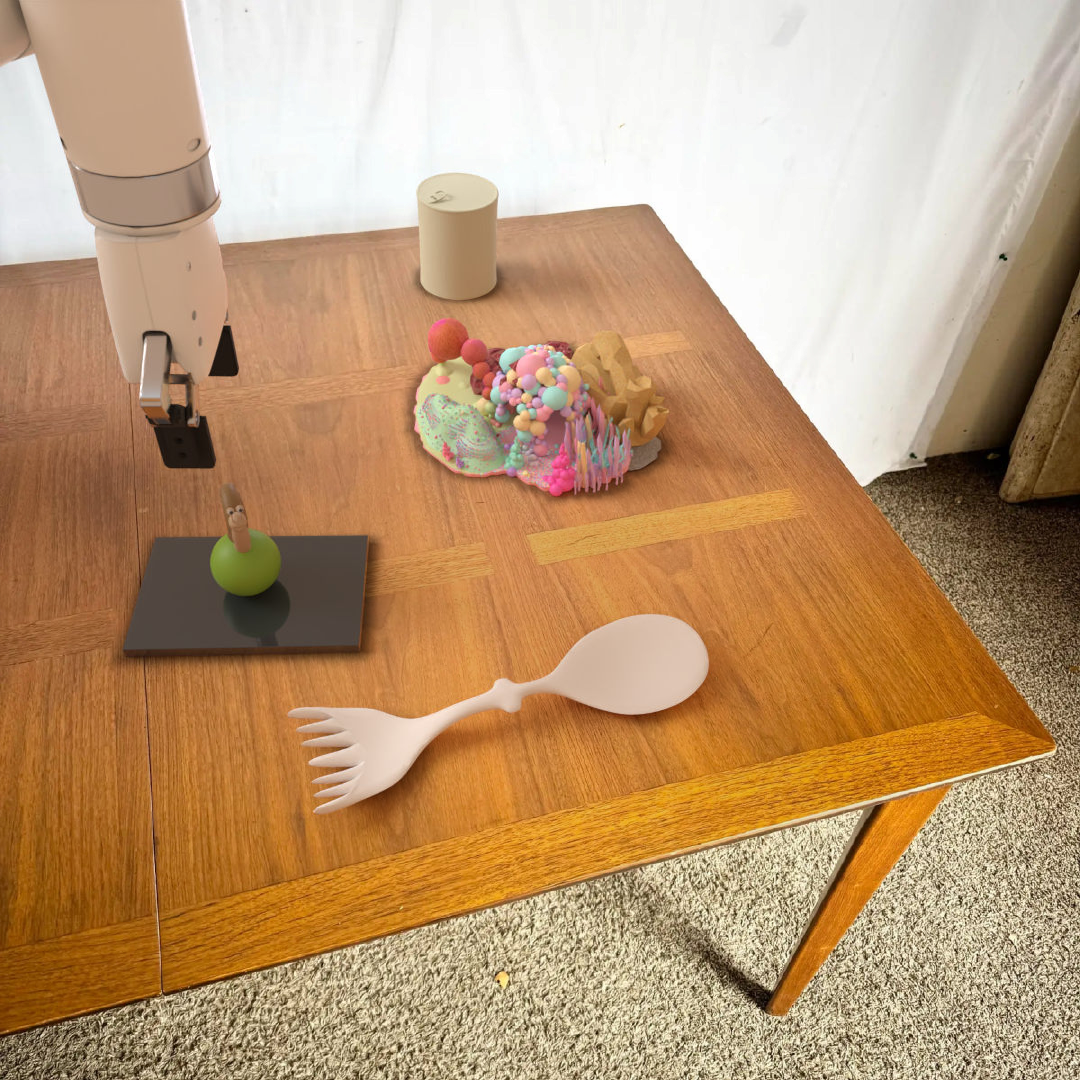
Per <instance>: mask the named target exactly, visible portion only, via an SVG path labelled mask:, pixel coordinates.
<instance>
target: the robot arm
mask: <svg viewBox="0 0 1080 1080" xmlns="http://www.w3.org/2000/svg"><path fill="white" fill-rule="evenodd" d="M191 31H192V30H191V26H190V20H189V16H188V9H187V4H186V0H0V68H2V67H4V66H6V65H7V64H9V63H12V62H15V61H19V60H20V59H23V58H27V57H30V56H32V55H35V59H36V63H37V66H38V69H39V73H40V76H41V79H42V83H43V86H44V89H45V93H46V96H47V99H48V102H49V106H50V109H51V112H52V116H53V120H54V123H55V126H56V129H57V133H58V136H59V138H60V143H61V146H62V149H63V152H64V155H65V158H66V162H67V166H68V169H69V171H70V172H69V173H70V175H71V178H72V181H73V182H72V183H73V186H74V188H75V192H76V195H77V198H78V201H79V206H80V210H81V212H82V215H83V217H84V218H85V220H86V221H87V222H88V223H90V225H92V226H93V227H94V242H95V252H96V261H97V265H98V272H99V277H100V283H101V289H102V293H103V299H104V303H105V307H106V311H107V315H108V319H109V325H110V329H111V333H112V336H113V340H114V345H115V348H116V349H115V350H116V352H117V357H118V360H119V364H120V368H121V371H122V374H123V377H124V379H125V380H126V381H127V382H128V383H129V384H130V385H137V384H138V385H140V388H139V396H138V398H139V399H138V400H139V401H138V402H139V406H140V409H141V410H142V411H143V413H144V417H145V419H146V420H147V422H148V424H149V426H150V427H151V428H153V431H154V435H155V438H156V442H157V445H158V448H159V452H160V455H161V459H162V462H163V465H164V467H166V468H168V469H175V470H176V469H180V470H181V469H183V470H184V469H189V470H190V469H191V470H193V469H194V470H195V469H196V470H199V469H200V470H208V469H209V470H212V469H214V468H215V467H216V463H217V456H216V452H215V449H214V443H213V439H212V436H211V432H210V427H209V424H208V419H207V416H206V415H201V410H200V409H201V408H200V384H202V383H203V382H204V381H206V379H207V378H208V377H220V378H221V377H226V378H227V377H228V378H229V377H230V378H232V377H233V378H234V377H237V376H238V374H239V371H240V365H239V360H238V355H237V351H236V345H235V341H234V335H233V331H232V326H231V324H229V325H228V323H229V308H228V304H229V294H228V292H229V291H228V284H227V279H226V278H227V277H226V271H225V265H224V260H223V256H222V251H221V247H220V242H219V237H218V233H217V229H216V225H215V221H214V217H213V216H214V215H215V214H216V213H217V212H218V211H219V209H220V208H221V203H222V194H221V189H220V183H219V177H218V176H219V175H218V172H217V166H216V165H217V164H216V161H215V154H214V149H213V145H212V144H213V143H212V141H211V133H210V128H209V124H208V118H207V117H208V116H207V111H206V107H205V101H204V95H203V90H202V85H201V80H200V74H199V70H198V63H197V58H196V52H195V48H194V42H193V35H192V32H191ZM172 364H178V365H179V366H180V367H181V369H182V370H183V371H184V372H185V373H171V366H172ZM171 385H172V386H184V387H185V388H184V392H185V394H184V395H185V406H184V405H183V404H179V403H172V402H173V400H172V397H171V395H170V386H171Z"/></svg>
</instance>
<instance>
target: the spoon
mask: <svg viewBox="0 0 1080 1080" xmlns="http://www.w3.org/2000/svg"><path fill="white" fill-rule="evenodd" d="M709 668H710V659H709V652H708V649H707V646H706V645H705V643H704V641H703V639H702V638H701V636H700V634H699V633H698V632H697V630H695V629H694V627H692V626H691V625H690V624H688V623H687V622H686V621H683V620H682V619H681V618H680V619H679V618H677V617H674V616H671V615H666V614H661V613H660V614H658V613H645V614H643V613H642V614H635V615H630V616H626V617H623V618H620V619H616V620H614V621H611V622H609V623H607V624H604V625H602V626H599V627H598V628H595V629H593V630H592V631H591V632H588V633H587V634H585V635H584V636H582V637H581V638H580V639H579V640H578V641H576V643H575V644H573V646H572V647H571V648H570V649H569V651H568V652H567V653H566V654H565V656H563V658H562V659H561V661H560V662H559V663H558V665H557V666H556V667H555V668H554V670H552V671H551V672H550V673H549V674H547V675H545V676H543V677H541V678H538V679H535V680H531V681H527V682H522V683H516V682H514V681H512V680H510V679H508V678H507V677H502V678H498V679H496V680H495V681H494V683H493V686H492V688H490V689H489V690H488V691H486V692H484V693H481V694H479V695H476V696H473V697H470V698H467V699H465V700H461V701H459V702H457V703H455V704H451V705H450V706H447V707H445V708H443V709H440V710H438V711H436V712H433V713H430V714H427V715H425V716H421V717H415V718H407V717H401V716H397V715H394V714H391V713H389V712H385V711H382V710H379V709H375V708H368V707H329V706H327V707H325V706H304V707H297V708H294V709H291V710H289V711H288V712H287V714H286V716H287V718H289V719H295V720H296V719H297V720H319V721H316V722H313V723H309V724H306V725H301V726H299V727H297V728H296V729H294V732H297V733H299V734H302V733H303V734H330V735H325V736H321V737H317V738H312V739H309V740H305V741H302V743H301V744H300V746H302V747H306V748H343V749H341V750H340V749H339V750H337V751H334V752H329V753H326V754H323V755H320V756H316V757H314V758H312V759H310V760H309V761H308V763H307V764H308V765H309V766H311V767H315V768H347V769H344V770H340V771H338V772H334V773H330V774H327V775H323V776H320V777H318V778H315V779H313V780H312V781H311V782H310V783H311V784H314V785H328V784H338V783H340V784H338V785H335V786H332V787H329V788H326V789H323V790H320V791H318V792H316V793H314V794H313V797H314V798H333V797H338V798H335V799H332V800H331V801H328V802H326V803H323V804H321V805H319V806H317V807H316V808H315V809H314V810H313V813H314V814H315V815H327V814H331V813H335V812H337V811H340V810H342V809H345V808H348V807H350V806H353V805H354V804H356V803H359V802H361V801H363V800H366V799H367V798H370V797H373V796H375V795H377V794H380V793H382V792H383V791H385V790H387V789H389V788H391V787H392V786H394V785H395V784H396V783H398V782H399V781H400V780H401V779H403V777H404V776H405V775H406V774H407V772H408V771H409V770H410V768H411V767H412V766H413V764H414V763H415V762H416V761H417V758H419V756H420V754H421V753H422V752H423V751H424V750H425V748H427V746H429V744H430V743H431V742H432V741H434V740H435V739H436V738H437V737H438V736H439V735H440V734H442V733H443V732H444V731H446V730H447V729H449V728H450V727H452V726H453V725H455V724H457V723H459V722H461V721H462V720H465V719H467V718H469V717H471V716H474V715H477V714H481V713H484V712H489V711H495V710H500V711H504V712H506V713H508V714H513V713H516V712H519V711H520V710H521V708H522V702H523V699H525V698H526V697H530V696H534V695H541V694H549V695H550V694H551V695H557V696H561V697H564V698H567V699H570V700H572V701H575V702H577V703H580V704H583V705H586V706H589V707H591V708H594V709H598V710H601V711H605V712H609V713H614V714H619V715H645V714H651V713H655V712H659V711H663V710H666V709H669V708H672V707H674V706H677V705H679V704H680V703H683V702H684V701H685V700H687V699H689V698H690V697H691V696H692V695H693V694H694V693H695V692H696V691H697V690H699V688H700V687H701V686H702V685H703V683H704V681H705V679H706V678H707V676H708V673H709Z"/></svg>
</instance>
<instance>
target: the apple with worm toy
mask: <svg viewBox="0 0 1080 1080" xmlns="http://www.w3.org/2000/svg"><path fill="white" fill-rule="evenodd" d="M218 492H219V499H220V502H221V507H222V510H223V515H224V519H225V524H226V529H227V533H225V534H224V535H223V536H221V537H222V538H221V539H220V540H219V541H218V542H217V543H216V545H215V546H214V548H213V551H212V553H211V558H210V566H211V571H212V574H213V577H214V578H215V580H216V582H217V583H218V584H219V585H220V586H221V587H222V588H223V589H225V590H226V591H228V592H230V593H232V594H235V595H239V596H252V595H256V594H259V593H261V592H263V591H265V590H266V589H268V588H269V587H270V586H271V585H272V584H273V583H274V582H275V580H276V578H277V577H278V575H279V572H280V568H281V556H280V552H279V549H278V547H277V545H276V544H275V542H274V541H273V540H272V539H271V538H270V537H269V536H270V535H267V534H266V533H264V532H263V531H261V530H258V529H255V528H249V521H248V515H247V511H246V507H245V504H244V501H243V499H242V496H241V493H240V491H238V490H237V487H236V485H234V483H232V482H224V483H222V484H221V485H220V486H219V488H218Z"/></svg>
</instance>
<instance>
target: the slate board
mask: <svg viewBox="0 0 1080 1080" xmlns="http://www.w3.org/2000/svg"><path fill="white" fill-rule="evenodd" d="M268 536H269V537H270V538H271V539H272V540H273V541H274V542H275V544H276V545H277V547H278V549H279V552H280V556H281V568H280V572H279V575H278V577H277V578H276V580H275V582H274V583H273V584H272V585H271V586H270V587H269V588H268V589H266V590H265V591H263V592H261V593H259V594H256V595H252V596H239V595H235V594H232V593H230V592H228V591H226V590H225V589H223V588H222V587H221V586H220V585H219V584H218V583H217V582H216V580H215V578H214V577H213V574H212V571H211V566H210V558H211V553H212V551H213V548H214V546H215V545H216V543H217V542H218V541H219V540H220V539H221V538H222V537H223V536H155V538H154V541H153V544H152V548H151V550H150V551H151V552H150V554H149V558H148V561H147V565H146V569H145V571H144V576H143V579H142V582H141V585H140V589H139V593H138V594H137V595H138V596H137V599H136V602H135V606H134V610H133V613H132V617H131V620H130V623H129V625H128V629H127V633H126V637H125V640H124V644H123V647H122V652H123V654H124V656H125V658H133V657H134V658H140V657H141V658H144V657H145V658H146V657H149V658H150V657H151V658H152V657H195V656H196V657H197V656H198V657H199V656H244V655H245V656H247V655H250V656H252V655H296V654H297V655H300V654H302V655H303V654H347V653H348V654H352V653H353V654H354V653H356V654H357V653H361V645H362V644H361V643H362V632H363V621H364V620H363V619H364V609H365V596H366V585H367V584H366V583H367V582H366V581H367V572H368V571H367V570H368V561H369V559H368V558H369V548H370V539H369V535H368V534H352V535H351V534H347V535H346V534H344V535H343V534H342V535H341V534H340V535H339V534H337V535H335V534H333V535H268Z"/></svg>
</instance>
